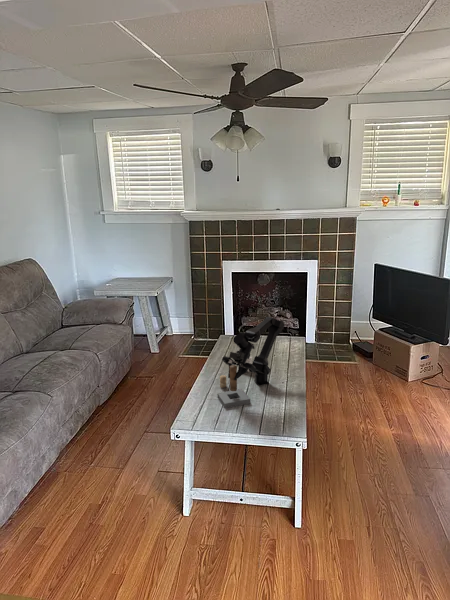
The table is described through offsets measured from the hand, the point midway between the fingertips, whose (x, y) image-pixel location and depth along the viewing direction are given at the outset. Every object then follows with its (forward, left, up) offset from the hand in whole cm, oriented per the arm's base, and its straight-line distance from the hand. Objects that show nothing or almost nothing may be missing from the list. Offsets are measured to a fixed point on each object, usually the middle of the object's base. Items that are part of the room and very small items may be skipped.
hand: (231, 379), depth 217 cm
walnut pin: (-1, -1, -7) cm, 7 cm away
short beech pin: (-1, -18, -13) cm, 22 cm away
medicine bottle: (-21, -35, -13) cm, 43 cm away
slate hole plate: (-1, -1, -13) cm, 13 cm away
